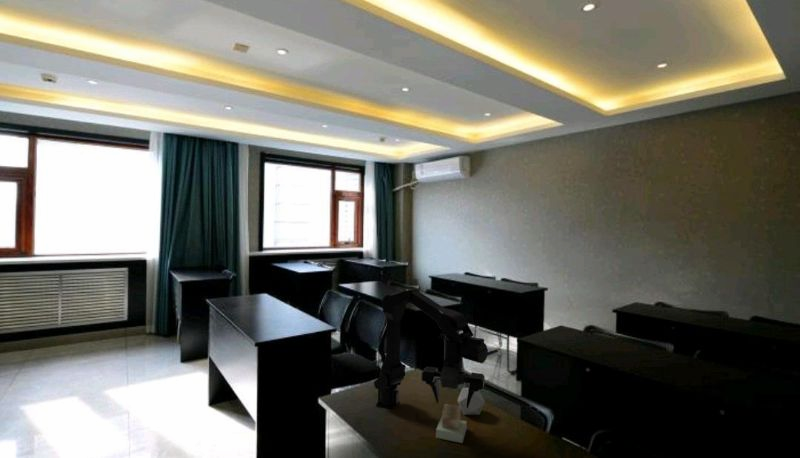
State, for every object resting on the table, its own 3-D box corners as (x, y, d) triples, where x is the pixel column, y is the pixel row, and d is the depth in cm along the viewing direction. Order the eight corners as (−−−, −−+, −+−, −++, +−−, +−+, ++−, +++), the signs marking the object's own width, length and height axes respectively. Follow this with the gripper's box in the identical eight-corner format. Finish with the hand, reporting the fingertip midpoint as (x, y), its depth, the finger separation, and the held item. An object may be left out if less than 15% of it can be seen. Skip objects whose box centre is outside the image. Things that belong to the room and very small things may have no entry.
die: (478, 424, 123) (492, 396, 126) (454, 408, 124) (468, 380, 127) (472, 420, 131) (486, 394, 134) (450, 405, 132) (464, 380, 135)
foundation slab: (435, 439, 114) (436, 429, 114) (441, 425, 121) (441, 416, 121) (462, 444, 111) (462, 434, 111) (466, 430, 119) (466, 421, 119)
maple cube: (442, 427, 115) (442, 410, 115) (444, 419, 120) (445, 403, 120) (458, 429, 114) (458, 413, 113) (460, 421, 118) (460, 405, 118)
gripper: (417, 359, 111) (416, 412, 111) (481, 368, 105) (480, 423, 105) (426, 348, 122) (425, 396, 122) (485, 355, 116) (484, 405, 116)
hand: (452, 405), depth 116 cm, fingers open, 9 cm apart
